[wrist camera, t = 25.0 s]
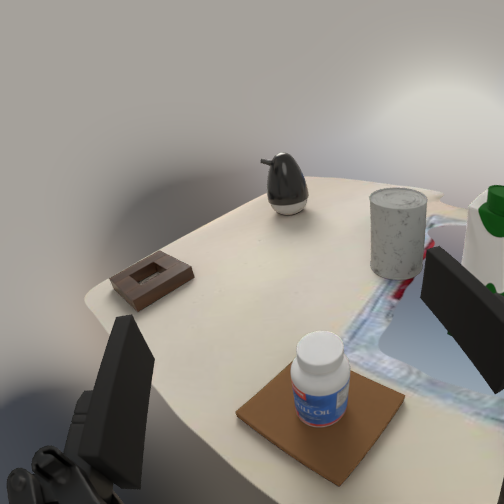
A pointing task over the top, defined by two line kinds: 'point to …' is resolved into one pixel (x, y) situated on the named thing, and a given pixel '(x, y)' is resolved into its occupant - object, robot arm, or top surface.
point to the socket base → (155, 288)
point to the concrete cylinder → (397, 232)
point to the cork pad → (323, 438)
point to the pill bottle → (320, 379)
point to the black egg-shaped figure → (286, 185)
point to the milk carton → (486, 239)
